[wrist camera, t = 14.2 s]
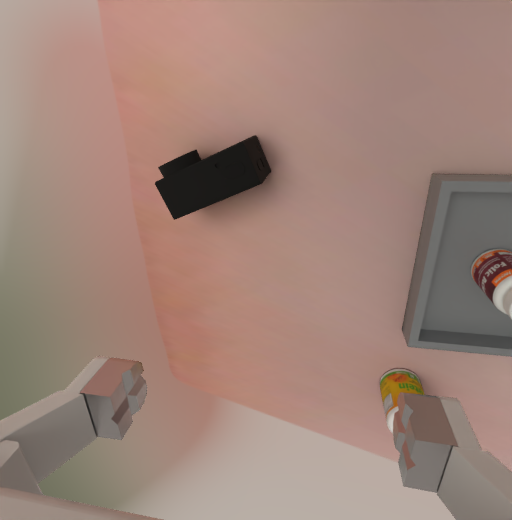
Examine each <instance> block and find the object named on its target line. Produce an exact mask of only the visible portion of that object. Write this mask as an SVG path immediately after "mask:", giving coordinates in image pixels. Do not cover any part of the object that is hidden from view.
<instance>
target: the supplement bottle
mask: <svg viewBox="0 0 512 520" xmlns="http://www.w3.org/2000/svg"><path fill="white" fill-rule="evenodd" d="M380 390H381V395H382V400H383V405H384V411H385V416H386V421H387V425H388V428H389V430H390V431H391V432H392V433H393V420H394V414H395V412H397V411H398V410H399V409H398V404H397V400H398V395H399V394H400V392H402V393H411V394H420V395H425V394H424V391H423V388H422V385H421V383H420V380H419V378H418V377H417V375H416V374H414V373H413V372H411V371H409V370H406V369H393V370H390V371H388V372H386V373H385V374H384V375H383V376H382V377H381V380H380Z"/></svg>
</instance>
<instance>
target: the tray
mask: <svg viewBox="0 0 512 520" xmlns="http://www.w3.org/2000/svg"><path fill="white" fill-rule="evenodd" d="M493 249H505V250H508V251H510V252H512V175H485V174H432V176H431V182H430V187H429V192H428V197H427V202H426V207H425V213H424V218H423V223H422V228H421V233H420V238H419V244H418V249H417V254H416V259H415V264H414V269H413V275H412V280H411V285H410V290H409V295H408V301H407V306H406V311H405V316H404V321H403V326H402V331H403V334H404V337H405V340H406V343H407V346H408V347H415V348H426V349H436V350H447V351H458V352H468V353H479V354H489V355H500V356H510V357H512V319H511V318H510V317H509V315H507V314H505V313H503V312H501V311H500V310H499V309H497V308H496V307H495V305H494V304H493V303H492V301H491V300H490V299H489V298H488V297H487V295H486V294H485V293H484V292H483V291H482V289H481V288H480V287H479V286H478V285H477V283H476V282H475V281H474V279H473V278H472V275H471V266H472V264H473V262H474V261H475V259H476V258H477V257H478V256H479V255H481V254H482V253H484V252H486V251H489V250H493Z"/></svg>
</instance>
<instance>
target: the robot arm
mask: <svg viewBox="0 0 512 520" xmlns="http://www.w3.org/2000/svg"><path fill="white" fill-rule="evenodd" d="M143 371H144V370H143V366H142V363H141V362H139V361H133V360H125V359H119V358H110V357H103V356H97V357H95V358H94V359H93V360H92V361H91V362H90V363H89V364H88V365H87V366H86V367H85V368H84V370H83V371H82V372H81V373H80V374H79V375H78V376H77V377H76V378H75V379H74V380H73V382H72V383H71V384H70V385H69V386H68V387H67V388H66V389H65V390H64V391H58V392H56V393H54V394H52V395H50V396H48V397H46V398H44V399H42V400H40V401H38V402H36V403H34V404H32V405H30V406H28V407H26V408H24V409H22V410H20V411H18V412H16V413H14V414H12V415H11V416H8V417H6V418H4V419H2V420H0V520H162V519H157V518H152V517H147V516H143V515H137V514H133V513H128V512H123V511H118V510H113V509H108V508H103V507H98V506H94V505H89V504H84V503H79V502H74V501H69V500H64V499H60V498H55V497H50V496H44V495H43V494H42V492H41V490H40V487H39V485H38V483H39V482H41V481H42V480H43V479H45V478H46V477H47V476H48V475H50V474H51V473H52V472H54V471H55V470H56V469H57V468H59V467H60V466H61V465H63V464H64V463H65V462H67V461H68V460H69V459H70V458H72V457H73V456H74V455H76V454H77V453H78V452H79V451H81V450H82V449H83V448H85V447H86V446H87V445H89V444H90V443H91V442H92V441H94V440H95V439H96V438H97V437H104V438H111V439H118V440H122V439H123V437H124V435H125V433H126V432H127V430H128V429H129V427H130V425H131V424H132V422H133V421H132V415H133V414H135V413H136V412H137V411H139V410H140V409H141V407H142V405H143V404H144V401H145V398H146V394H147V385H146V381H145V380H144V379H143V377H142V376H141V374H142V372H143ZM397 404H398V409H399V410H398V411H397V412H395V414H394V420H393V437H394V443H395V448H396V449H397V450H398V451H399V452H400V458H399V462H398V463H399V468H400V472H401V477H402V482H403V486H405V487H410V488H415V489H420V490H425V491H431V492H436V493H437V495H438V496H439V498H440V499H441V500H442V502H443V503H444V504H445V506H446V507H447V508H448V510H449V511H450V512H451V514H452V515H453V516H454V518H455V519H456V520H512V472H511V471H510V470H509V469H508V468H507V467H506V466H504V465H503V464H502V463H501V462H500V461H499V460H498V459H496V458H495V457H494V456H493V455H492V454H491V453H490V452H488V451H482V449H481V447H480V444H479V442H478V440H477V438H476V436H475V434H474V431H473V429H472V427H471V425H470V423H469V421H468V418H467V416H466V414H465V412H464V410H463V407H462V405H461V403H460V401H459V400H458V399H457V398H449V397H439V396H437V397H436V396H430V395H420V394H411V393H402V392H400V394H399V395H398V400H397Z"/></svg>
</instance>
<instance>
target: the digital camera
mask: <svg viewBox="0 0 512 520" xmlns="http://www.w3.org/2000/svg"><path fill="white" fill-rule="evenodd" d="M256 146H258V147H256ZM258 150H259V151H258ZM158 168H159V170H160V172H161V173H162V175H163V177H164V178H163V179H161V180H159V181H156V182H155V185H156V187H157V189H158V190H159V192H160V194H161V196H162V198H163V200H164V202H165V204H166V205H167V207H168V209H169V211H170V213H171V215H172V217H173V219H174V220H175V219H177V218H180V217H182V216H185V215H187V214H190V213H192V212H194V211H197V210H199V209H202V208H204V207H207V206H209V205H211V204H214V203H216V202H219V201H221V200H223V199H226V198H228V197H231V196H233V195H236V194H238V193H240V192H243V191H245V190H248V189H250V188H252V187H255V186H257V185H260V184H262V183H263V181H264V180H265V179H266V177H267V176H268V175H269V173H270V172H271V169H270V167H269V165H268V162H267V160H266V157H265V155H264V152H263V150H262V148H261V145H260V143H259V140H258V138H257V136H252V137H250V138H248V139H246V140H244V141H242V142H239V143H237V144H235V145H233V146H231V147H229V148H227V149H224V150H222V151H220V152H218V153H216V154H214V155H212V156H210V157H207V158H205V159H203V160H201V159H200V156H199V154H198V152H197V150H194V151H192V152H189V153H187V154H185V155H183V156H180V157H178V158H176V159H174V160H172V161H170V162H168V163H166V164H164V165H162V166H160V167H158Z"/></svg>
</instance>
